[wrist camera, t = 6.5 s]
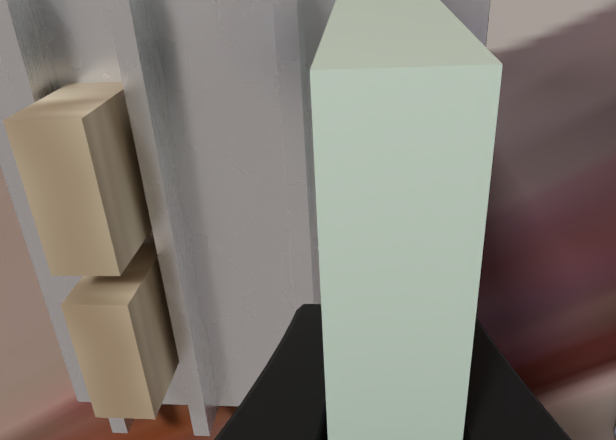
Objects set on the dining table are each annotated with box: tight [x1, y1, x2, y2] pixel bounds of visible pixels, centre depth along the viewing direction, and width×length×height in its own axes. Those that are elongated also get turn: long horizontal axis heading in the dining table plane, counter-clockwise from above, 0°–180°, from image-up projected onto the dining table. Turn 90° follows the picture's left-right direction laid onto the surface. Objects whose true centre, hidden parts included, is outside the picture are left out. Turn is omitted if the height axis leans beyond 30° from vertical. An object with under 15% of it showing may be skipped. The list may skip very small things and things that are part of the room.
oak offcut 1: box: [3, 82, 152, 276], centre depth 16 cm, size 2×4×4 cm, turn 3°
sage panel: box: [310, 0, 503, 440], centre depth 9 cm, size 1×10×8 cm, turn 3°
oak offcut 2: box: [61, 243, 179, 419], centre depth 19 cm, size 2×4×4 cm, turn 3°
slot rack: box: [0, 0, 490, 436], centre depth 18 cm, size 15×16×2 cm
